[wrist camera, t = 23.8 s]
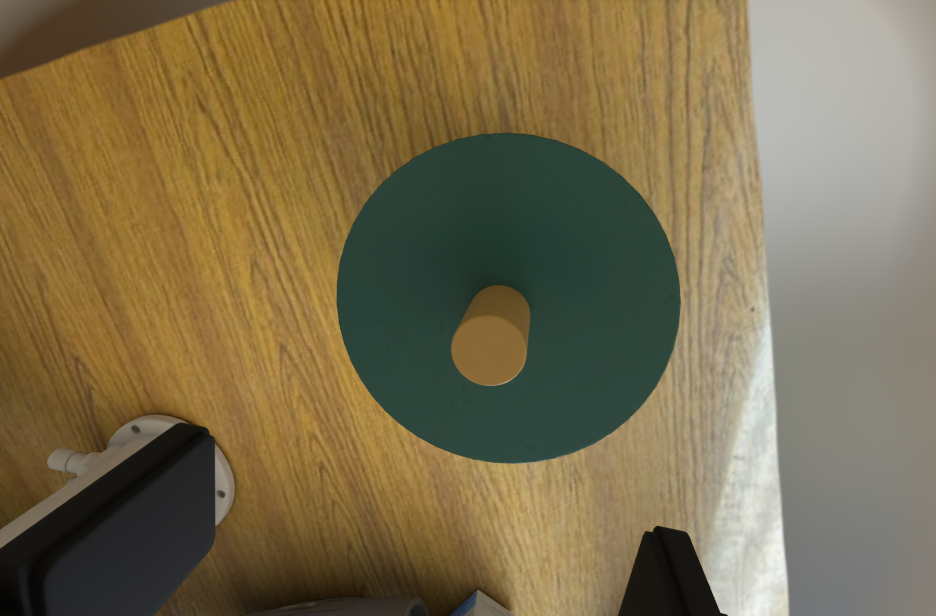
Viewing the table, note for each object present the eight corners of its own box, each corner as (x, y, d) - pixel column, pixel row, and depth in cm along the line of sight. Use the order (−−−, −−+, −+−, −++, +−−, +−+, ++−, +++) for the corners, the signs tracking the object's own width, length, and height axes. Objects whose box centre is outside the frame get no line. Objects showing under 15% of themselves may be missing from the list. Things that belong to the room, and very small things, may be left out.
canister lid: (335, 415, 27) (280, 481, 21) (359, 109, 22) (296, 91, 16) (626, 479, 25) (648, 569, 20) (719, 164, 20) (783, 166, 15)
